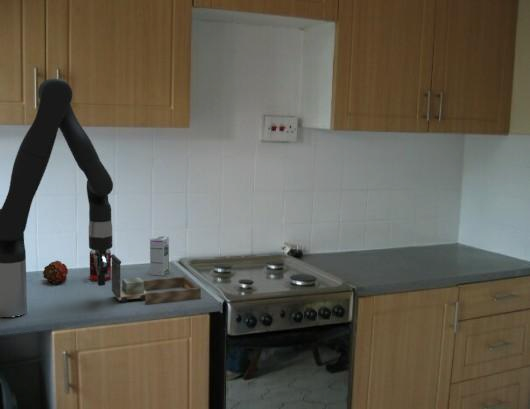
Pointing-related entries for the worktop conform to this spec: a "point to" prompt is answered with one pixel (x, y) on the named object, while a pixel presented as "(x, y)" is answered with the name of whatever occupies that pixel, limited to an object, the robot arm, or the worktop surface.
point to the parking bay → (173, 295)
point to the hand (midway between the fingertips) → (101, 285)
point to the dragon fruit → (55, 272)
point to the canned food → (93, 272)
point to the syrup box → (159, 255)
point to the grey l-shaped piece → (126, 284)
